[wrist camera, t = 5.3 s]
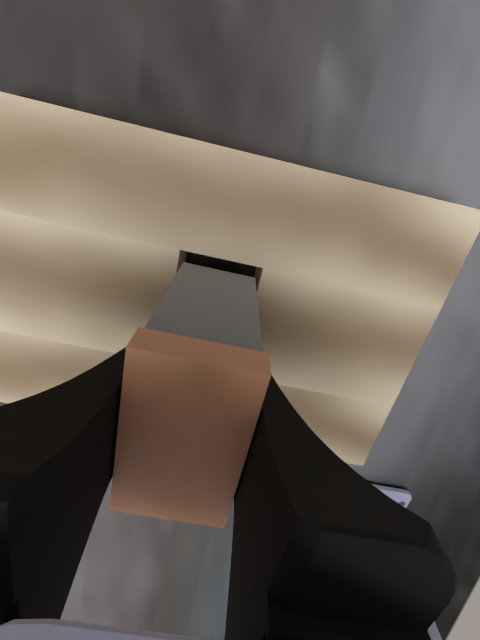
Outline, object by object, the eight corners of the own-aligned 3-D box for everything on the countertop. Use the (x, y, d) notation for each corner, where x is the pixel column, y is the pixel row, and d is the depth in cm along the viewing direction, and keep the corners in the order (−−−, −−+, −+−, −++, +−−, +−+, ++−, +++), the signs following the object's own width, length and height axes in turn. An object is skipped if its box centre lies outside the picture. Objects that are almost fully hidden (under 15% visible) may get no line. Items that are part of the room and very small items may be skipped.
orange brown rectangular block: (231, 379, 17) (224, 528, 10) (164, 366, 16) (109, 510, 10) (258, 275, 15) (271, 375, 8) (181, 259, 14) (125, 347, 8)
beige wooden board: (348, 428, 22) (363, 465, 20) (25, 369, 21) (-8, 400, 18) (448, 203, 17) (488, 212, 14) (16, 97, 15) (-34, 82, 12)
